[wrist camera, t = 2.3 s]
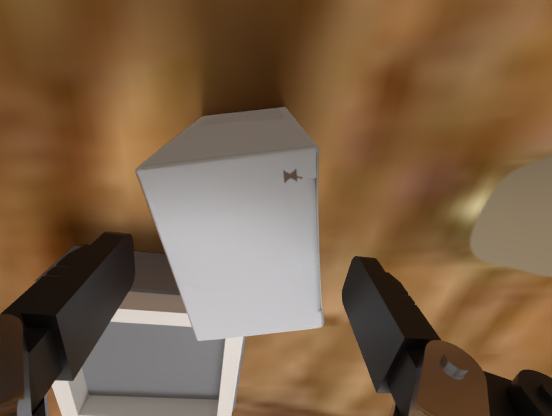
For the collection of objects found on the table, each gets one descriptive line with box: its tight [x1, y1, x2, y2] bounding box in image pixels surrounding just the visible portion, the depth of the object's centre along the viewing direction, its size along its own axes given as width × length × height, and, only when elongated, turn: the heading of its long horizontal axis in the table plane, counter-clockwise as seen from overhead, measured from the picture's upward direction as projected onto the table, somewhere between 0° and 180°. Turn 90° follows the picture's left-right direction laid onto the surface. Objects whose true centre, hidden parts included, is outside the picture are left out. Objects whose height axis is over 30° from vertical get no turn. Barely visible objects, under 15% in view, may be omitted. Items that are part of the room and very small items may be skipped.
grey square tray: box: [35, 245, 246, 416], centre depth 22 cm, size 14×14×6 cm
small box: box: [135, 107, 324, 341], centre depth 14 cm, size 8×6×10 cm
